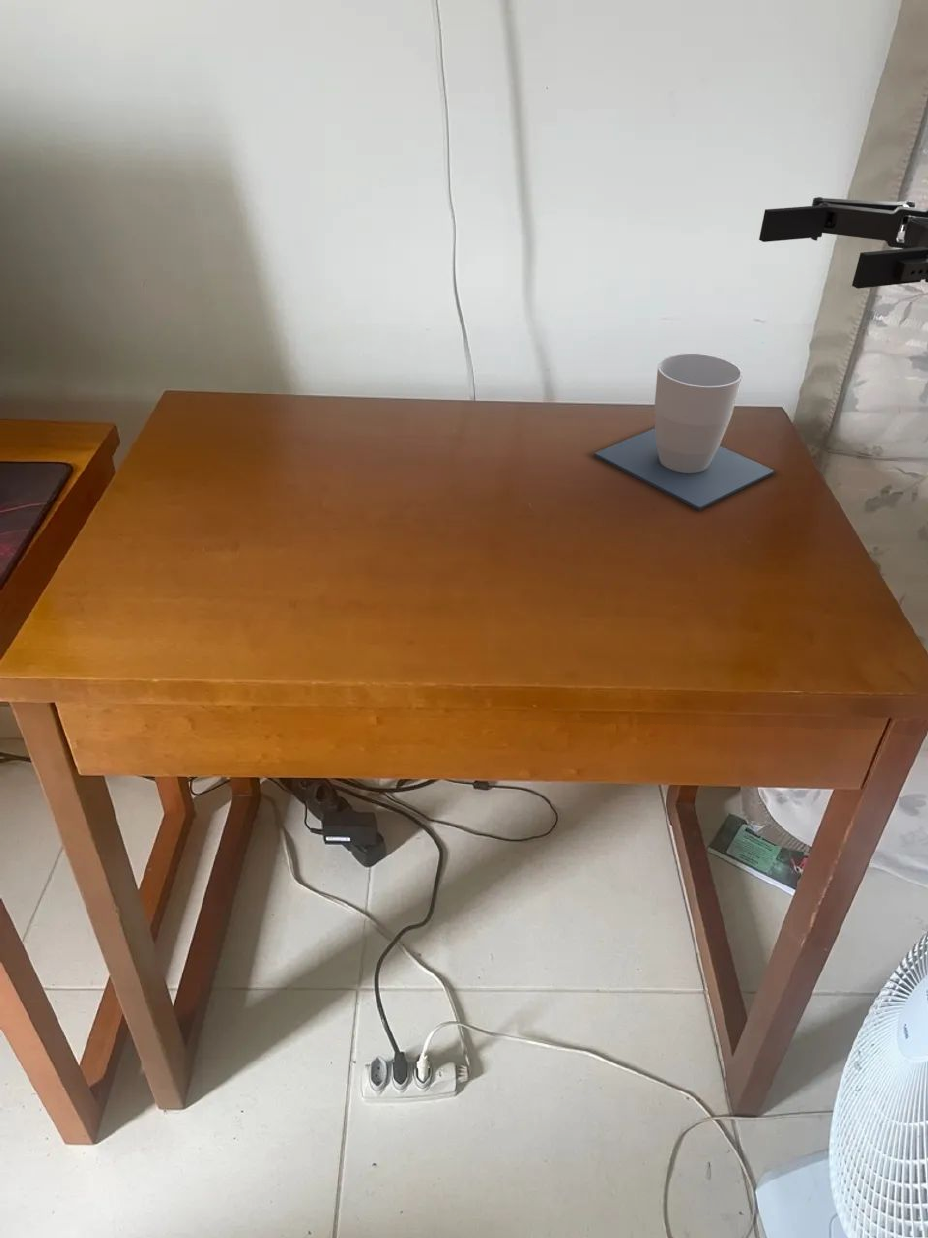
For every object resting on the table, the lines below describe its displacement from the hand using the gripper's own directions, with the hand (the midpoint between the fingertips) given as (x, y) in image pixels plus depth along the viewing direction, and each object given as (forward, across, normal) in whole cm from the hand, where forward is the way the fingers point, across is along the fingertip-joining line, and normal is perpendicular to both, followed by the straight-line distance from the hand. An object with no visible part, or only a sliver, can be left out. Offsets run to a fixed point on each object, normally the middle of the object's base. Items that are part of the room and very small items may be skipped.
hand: (808, 246), depth 86 cm
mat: (+5, +5, -23) cm, 24 cm away
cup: (+5, +5, -23) cm, 24 cm away
